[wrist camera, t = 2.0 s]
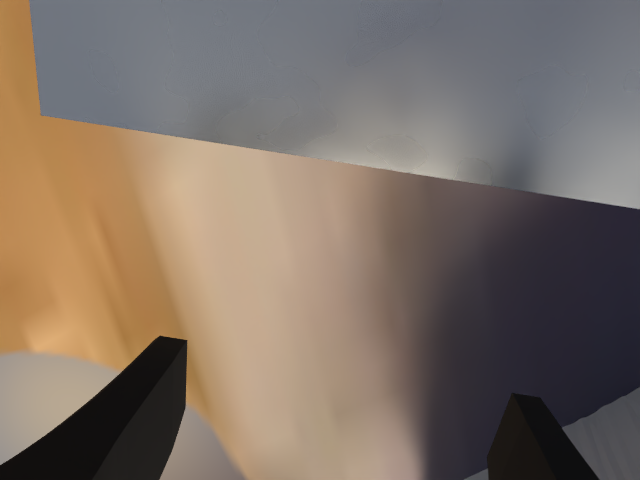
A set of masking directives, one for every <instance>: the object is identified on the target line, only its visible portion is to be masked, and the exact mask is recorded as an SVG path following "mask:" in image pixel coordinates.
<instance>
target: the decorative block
mask: <svg viewBox="0 0 640 480" xmlns="http://www.w3.org/2000/svg"><path fill="white" fill-rule="evenodd" d="M562 429H563V431H564V432H565V433H566V435H567V436H568V438H569V439H570V440H571V442H572V443H573V444H574V446H575V447H576V449H577V450H578V451H579V453H580V454H581V455H582V457H583V458H584V459H585V461H586V462H587V463H588V465H589V466H590V467H591V469H592V470H593V471H594V473H595V474H596V475H597V477H598V478H599V479H600V480H640V387H639V388H637V389H636V390H634V391H632V392H631V393H629V394H628V395H626V396H622V397H620V398H618V399H617V400H615V401H614V402H612V403H610V404H608V405H605V406H603V407H601V408H600V409H599V410H598V411H596V412H595V413H593V414H591V415H590V416H588V417H584V418H580V419H579V420H577V421H576V422H574V423H573V424H570V425H567V426H564V427H563V428H562ZM464 480H489V479H488V468H487V469H485V470H483V471H481V472H479V473H477V474H474V475H472V476H470V477H468V478H466V479H464Z"/></svg>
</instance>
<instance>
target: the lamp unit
mask: <svg viewBox="0 0 640 480" xmlns="http://www.w3.org/2000/svg"><path fill="white" fill-rule="evenodd" d="M29 2H30V12H31V22H32V31H33V41H34V51H35V61H36V71H37V80H38V90H39V100H40V110H41V115H42V116H49V117H55V118H62V119H68V120H74V121H81V122H87V123H93V124H100V125H106V126H113V127H119V128H125V129H132V130H138V131H145V132H151V133H157V134H164V135H170V136H176V137H183V138H189V139H196V140H202V141H208V142H215V143H221V144H227V145H234V146H240V147H247V148H253V149H259V150H266V151H272V152H279V153H285V154H291V155H298V156H304V157H310V158H317V159H323V160H330V161H336V162H342V163H349V164H355V165H361V166H368V167H374V168H381V169H387V170H393V171H400V172H406V173H412V174H419V175H425V176H432V177H438V178H444V179H451V180H457V181H464V182H470V183H476V184H483V185H489V186H495V187H502V188H508V189H515V190H521V191H527V192H534V193H540V194H546V195H553V196H559V197H566V198H572V199H578V200H585V201H591V202H598V203H604V204H610V205H617V206H623V207H629V208H636V209H640V0H29Z"/></svg>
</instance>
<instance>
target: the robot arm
mask: <svg viewBox="0 0 640 480" xmlns="http://www.w3.org/2000/svg"><path fill="white" fill-rule="evenodd" d="M186 367H187V340H182V339H176V338H170V337H164V336H159V337H158V338H156V339H155V340H154V341H153V342H152V343H151V344H150V345H149V346H148V347H147V348H146V349H145V350H144V351H143V352H142V353H141V354H140V355H139V356H138V357H137V358H136V359H135V360H134V361H133V362H132V363H131V364H130V365H128V366H127V367H126V368H125V369H124V370H123V371H122V372H121V373H120V374H119V375H118V376H117V377H116V378H115V379H113V380H112V381H111V382H110V383H109V384H108V385H107V386H106V387H105V388H103V389H102V390H101V391H100V392H99V393H98V394H97V395H95V397H93V398H92V399H91V400H90V401H88V402H87V403H86V404H85V405H84V406H82V407H81V408H80V409H79V410H77V411H76V412H75V413H74V414H72V415H71V416H70V417H69V418H67V419H66V420H65V421H64V422H62V423H61V424H60V425H58V426H57V427H56V428H54V429H53V430H52V431H50V432H49V433H48V434H47V435H45V436H44V437H42V438H41V439H39V440H38V441H37V442H35V443H34V444H32V445H31V446H29V447H28V448H26V449H25V450H24V451H22V452H21V453H19V454H18V455H16V456H14V457H13V458H11V459H10V460H8V461H6V462H5V463H3V464H2V465H0V480H159V479H160V477H161V474H162V472H163V470H164V468H165V465H166V463H167V461H168V458H169V456H170V454H171V452H172V449H173V446H174V442H175V440H176V436H177V434H178V431H179V427H180V424H181V421H182V417H183V414H184V410H185V405H186ZM487 463H488V479H489V480H600V479H599V478H598V477H597V475H596V474H595V473H594V471H593V470H592V469H591V467H590V466H589V465H588V463H587V462H586V461H585V459H584V458H583V457H582V455H581V454H580V453H579V451H578V450H577V449H576V447H575V446H574V444H573V443H572V442H571V440H570V439H569V438H568V436H567V435H566V433H565V432H564V431H563V429H562V428H561V426H560V425H559V424H558V422H557V421H556V419H555V418H554V416H553V415H552V414H551V412H550V411H549V409H548V408H547V407H546V405H545V404H544V403H543V401H542V400H541V398H540V397H533V396H527V395H521V394H515V393H512V394H511V397H510V400H509V402H508V405H507V407H506V410H505V412H504V415H503V418H502V420H501V423H500V425H499V428H498V431H497V433H496V436H495V438H494V441H493V444H492V446H491V449H490V451H489V454H488V457H487Z"/></svg>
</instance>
